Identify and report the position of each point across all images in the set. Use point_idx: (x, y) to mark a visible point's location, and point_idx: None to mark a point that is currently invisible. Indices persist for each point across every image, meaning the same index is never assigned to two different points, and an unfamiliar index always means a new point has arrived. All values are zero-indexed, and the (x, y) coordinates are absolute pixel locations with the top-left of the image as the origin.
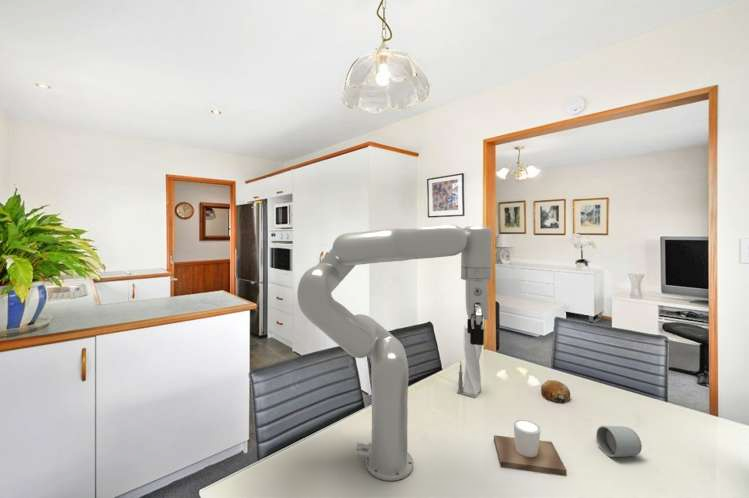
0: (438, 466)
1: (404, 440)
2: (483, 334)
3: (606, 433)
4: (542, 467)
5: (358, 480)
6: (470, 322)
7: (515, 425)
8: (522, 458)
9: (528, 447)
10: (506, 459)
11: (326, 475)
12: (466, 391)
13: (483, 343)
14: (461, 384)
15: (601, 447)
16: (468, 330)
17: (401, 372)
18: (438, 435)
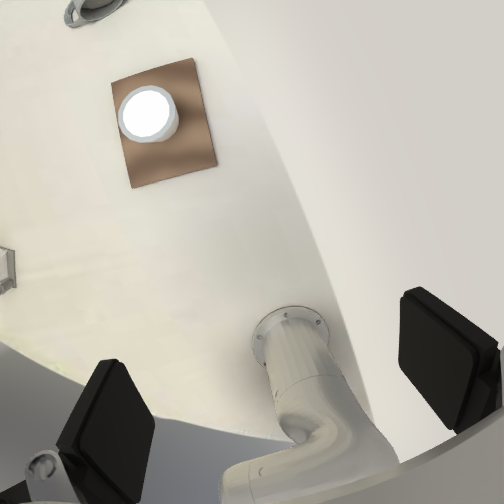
0: (263, 270)
1: (313, 342)
2: (466, 322)
3: (83, 3)
4: (200, 93)
5: (335, 359)
6: (133, 477)
7: (153, 137)
8: (188, 127)
9: (177, 113)
10: (205, 155)
11: None
12: (6, 271)
13: (421, 290)
14: (3, 286)
15: (97, 18)
16: (151, 434)
17: (386, 442)
18: (171, 292)
